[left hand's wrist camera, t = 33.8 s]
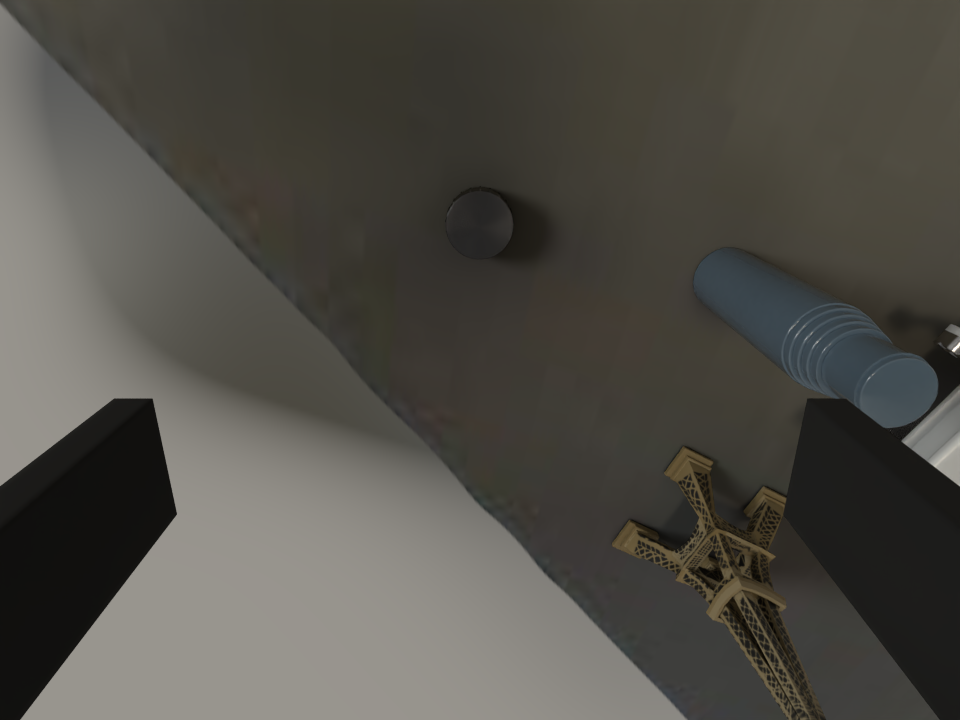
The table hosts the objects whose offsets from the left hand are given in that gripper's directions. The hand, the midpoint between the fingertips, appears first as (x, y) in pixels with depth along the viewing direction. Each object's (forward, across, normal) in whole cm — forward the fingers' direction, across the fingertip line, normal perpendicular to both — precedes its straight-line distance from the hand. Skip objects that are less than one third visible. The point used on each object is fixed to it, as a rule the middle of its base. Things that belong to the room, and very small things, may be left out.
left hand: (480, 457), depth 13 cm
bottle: (+32, +18, -4) cm, 37 cm away
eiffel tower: (+32, +18, -25) cm, 44 cm away
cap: (+30, 0, 0) cm, 30 cm away
